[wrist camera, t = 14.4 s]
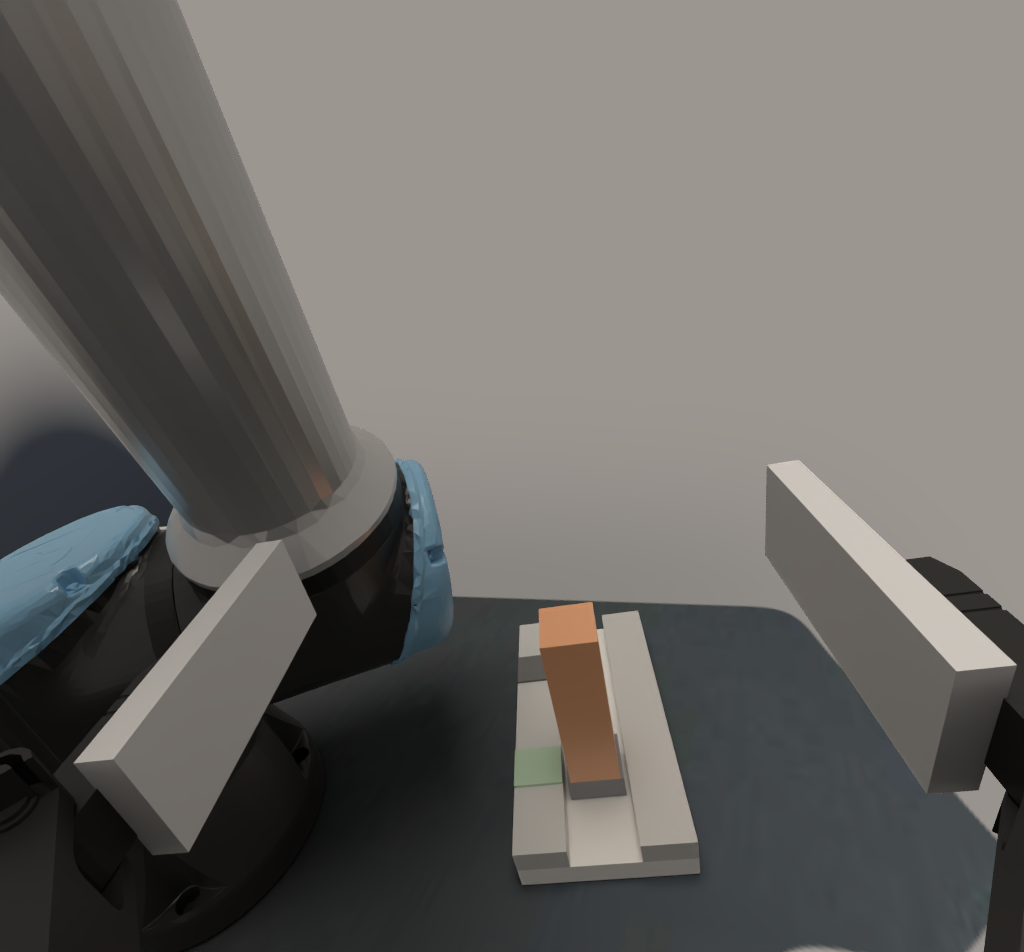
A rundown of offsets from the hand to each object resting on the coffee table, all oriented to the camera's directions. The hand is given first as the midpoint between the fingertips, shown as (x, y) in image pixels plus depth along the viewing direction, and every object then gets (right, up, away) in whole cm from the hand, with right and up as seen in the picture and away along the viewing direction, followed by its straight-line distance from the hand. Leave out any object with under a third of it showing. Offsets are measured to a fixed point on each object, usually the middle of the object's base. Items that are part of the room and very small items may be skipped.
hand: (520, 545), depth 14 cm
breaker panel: (+6, -17, +23) cm, 29 cm away
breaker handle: (+5, -17, +19) cm, 26 cm away
